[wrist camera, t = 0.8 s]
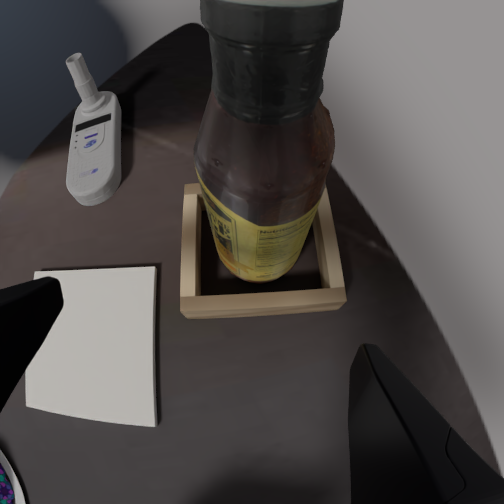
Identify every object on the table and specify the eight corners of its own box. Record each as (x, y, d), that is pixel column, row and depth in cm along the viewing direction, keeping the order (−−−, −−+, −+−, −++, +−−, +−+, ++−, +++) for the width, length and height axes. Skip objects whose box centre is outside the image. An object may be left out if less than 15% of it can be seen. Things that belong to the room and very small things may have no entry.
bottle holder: (337, 309, 23) (346, 301, 20) (187, 318, 22) (180, 311, 20) (318, 194, 26) (324, 177, 24) (190, 201, 26) (184, 184, 24)
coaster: (157, 425, 19) (155, 426, 19) (30, 406, 19) (26, 405, 18) (157, 269, 24) (154, 266, 23) (38, 273, 24) (35, 271, 23)
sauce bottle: (218, 216, 26) (177, -38, 7) (295, 213, 26) (342, -37, 8) (218, 294, 23) (130, 23, 5) (303, 290, 23) (416, 29, 5)
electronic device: (23, 154, 18) (55, 55, 23) (75, 215, 27) (84, 114, 32) (82, 130, 18) (100, 37, 23) (124, 200, 27) (123, 101, 33)
